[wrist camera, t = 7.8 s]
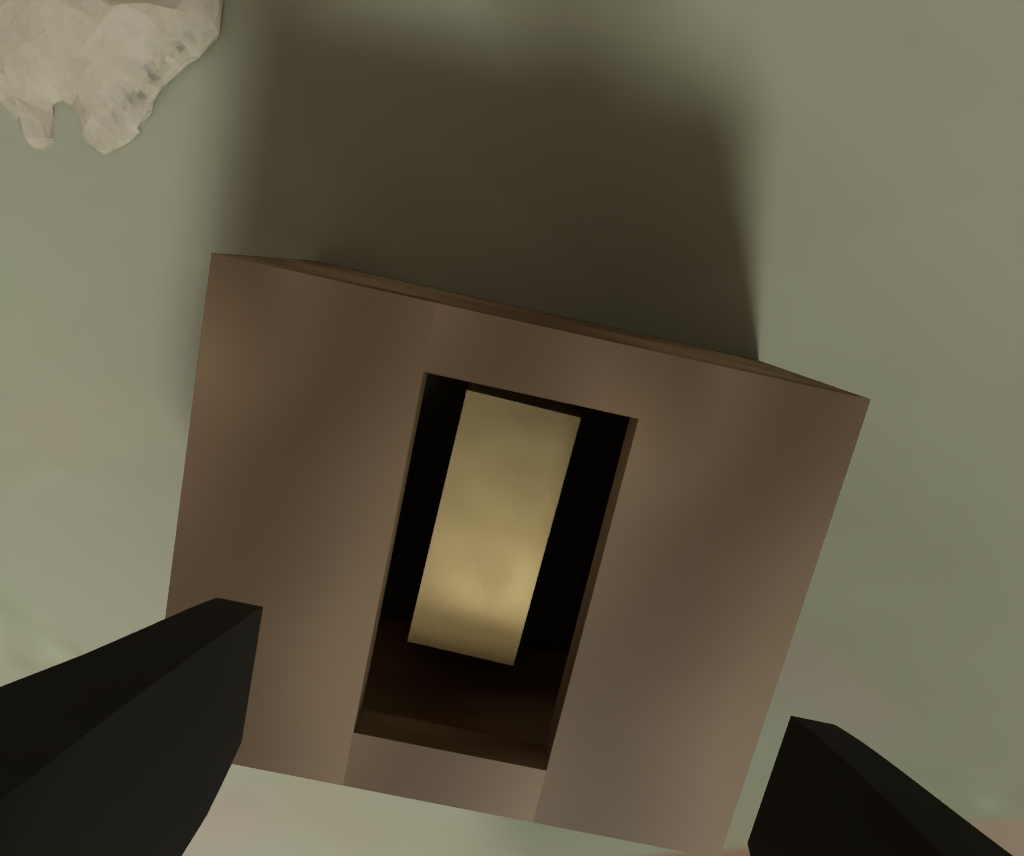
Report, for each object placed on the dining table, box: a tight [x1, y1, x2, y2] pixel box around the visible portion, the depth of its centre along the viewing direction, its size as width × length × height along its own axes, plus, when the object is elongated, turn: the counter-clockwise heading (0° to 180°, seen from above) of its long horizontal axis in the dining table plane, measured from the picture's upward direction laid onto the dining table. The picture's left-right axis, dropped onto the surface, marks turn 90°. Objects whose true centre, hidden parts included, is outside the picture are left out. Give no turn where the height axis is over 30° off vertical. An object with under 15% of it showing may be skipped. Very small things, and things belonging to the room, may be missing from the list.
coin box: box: [165, 253, 871, 856], centre depth 17 cm, size 12×10×6 cm
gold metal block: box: [407, 382, 581, 666], centre depth 18 cm, size 2×6×4 cm, turn 166°
